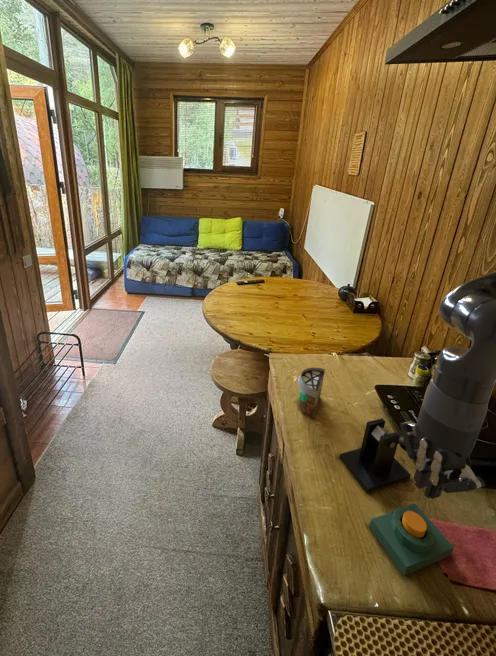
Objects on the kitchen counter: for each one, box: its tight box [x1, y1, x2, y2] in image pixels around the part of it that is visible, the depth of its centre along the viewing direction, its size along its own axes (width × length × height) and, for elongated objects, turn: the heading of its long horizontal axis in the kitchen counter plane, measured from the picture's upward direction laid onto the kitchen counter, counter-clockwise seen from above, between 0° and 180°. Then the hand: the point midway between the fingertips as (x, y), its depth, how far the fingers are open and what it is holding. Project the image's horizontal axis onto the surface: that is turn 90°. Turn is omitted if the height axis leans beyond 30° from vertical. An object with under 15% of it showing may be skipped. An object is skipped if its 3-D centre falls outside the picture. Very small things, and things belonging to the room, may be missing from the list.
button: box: [402, 511, 427, 538], centre depth 57 cm, size 4×4×2 cm
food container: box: [297, 367, 326, 419], centre depth 90 cm, size 12×6×10 cm, turn 149°
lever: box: [371, 426, 415, 452], centre depth 71 cm, size 13×3×3 cm, turn 105°
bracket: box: [338, 417, 412, 494], centre depth 70 cm, size 12×9×12 cm
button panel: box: [368, 503, 455, 576], centre depth 57 cm, size 11×8×4 cm
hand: (425, 490), depth 54 cm, fingers closed
